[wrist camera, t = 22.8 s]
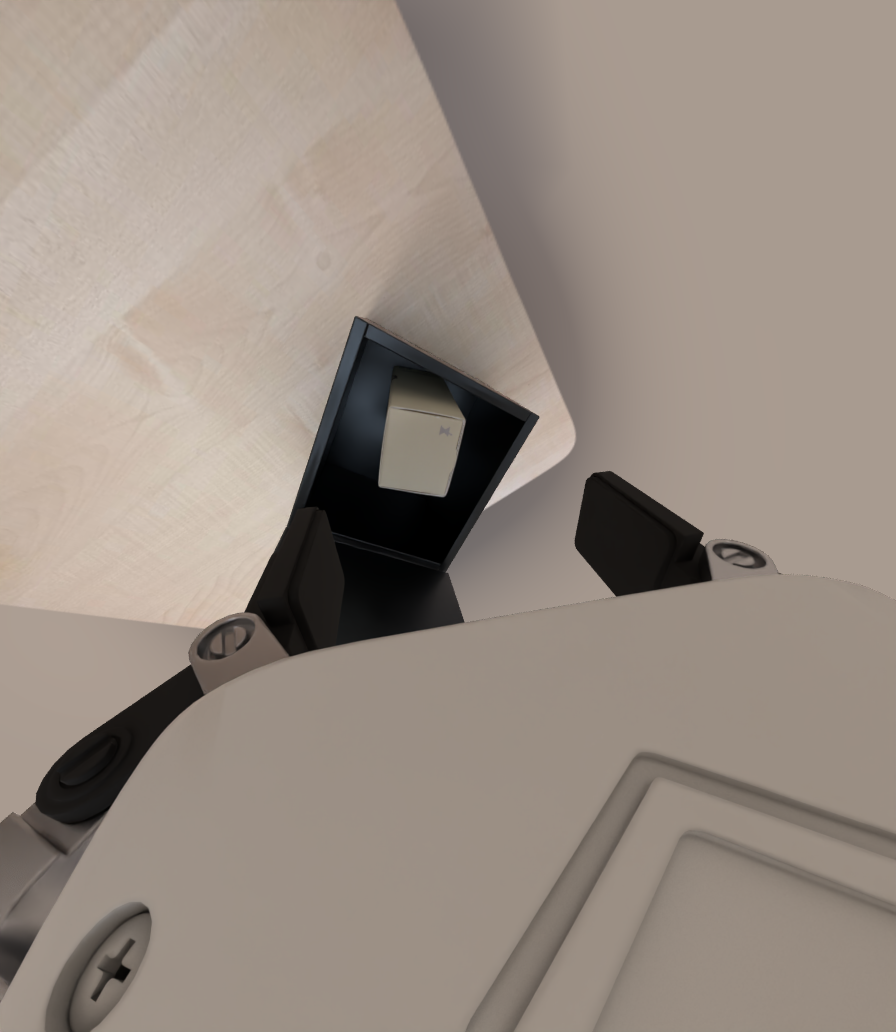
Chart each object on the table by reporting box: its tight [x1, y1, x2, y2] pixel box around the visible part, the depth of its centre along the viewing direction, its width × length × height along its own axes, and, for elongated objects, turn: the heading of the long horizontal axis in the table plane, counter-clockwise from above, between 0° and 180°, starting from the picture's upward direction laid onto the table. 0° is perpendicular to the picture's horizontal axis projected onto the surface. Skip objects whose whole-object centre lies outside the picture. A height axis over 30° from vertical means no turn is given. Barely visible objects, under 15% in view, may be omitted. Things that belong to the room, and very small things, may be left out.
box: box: [378, 366, 466, 497], centre depth 24 cm, size 5×4×13 cm
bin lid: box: [274, 527, 465, 646], centre depth 18 cm, size 14×12×5 cm
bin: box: [287, 316, 539, 572], centre depth 26 cm, size 13×12×12 cm
